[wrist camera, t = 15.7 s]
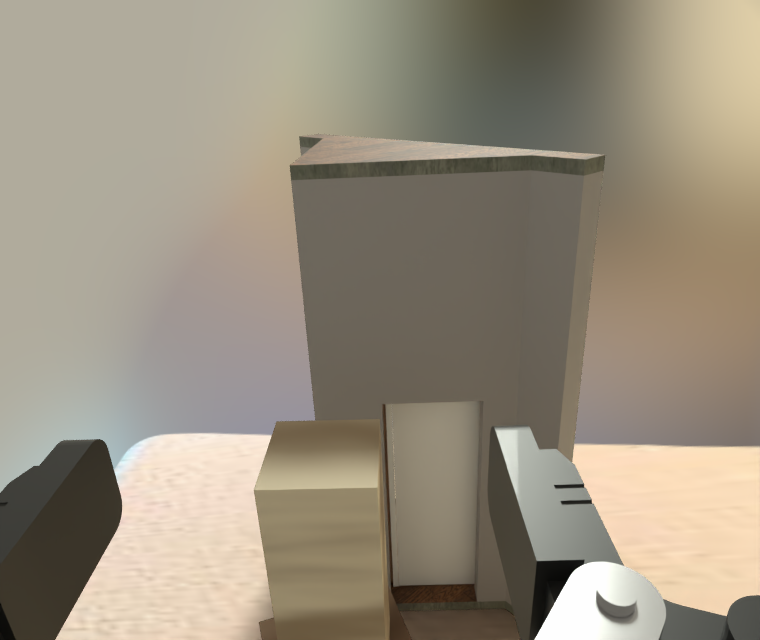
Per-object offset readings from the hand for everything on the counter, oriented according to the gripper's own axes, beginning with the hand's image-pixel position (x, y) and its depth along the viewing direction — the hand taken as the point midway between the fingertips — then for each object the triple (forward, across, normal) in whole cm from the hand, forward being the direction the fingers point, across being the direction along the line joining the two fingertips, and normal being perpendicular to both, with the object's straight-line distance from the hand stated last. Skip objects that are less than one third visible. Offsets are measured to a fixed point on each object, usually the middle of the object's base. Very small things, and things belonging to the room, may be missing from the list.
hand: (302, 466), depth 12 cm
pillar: (+9, -1, -18) cm, 20 cm away
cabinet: (+20, +1, -25) cm, 32 cm away
